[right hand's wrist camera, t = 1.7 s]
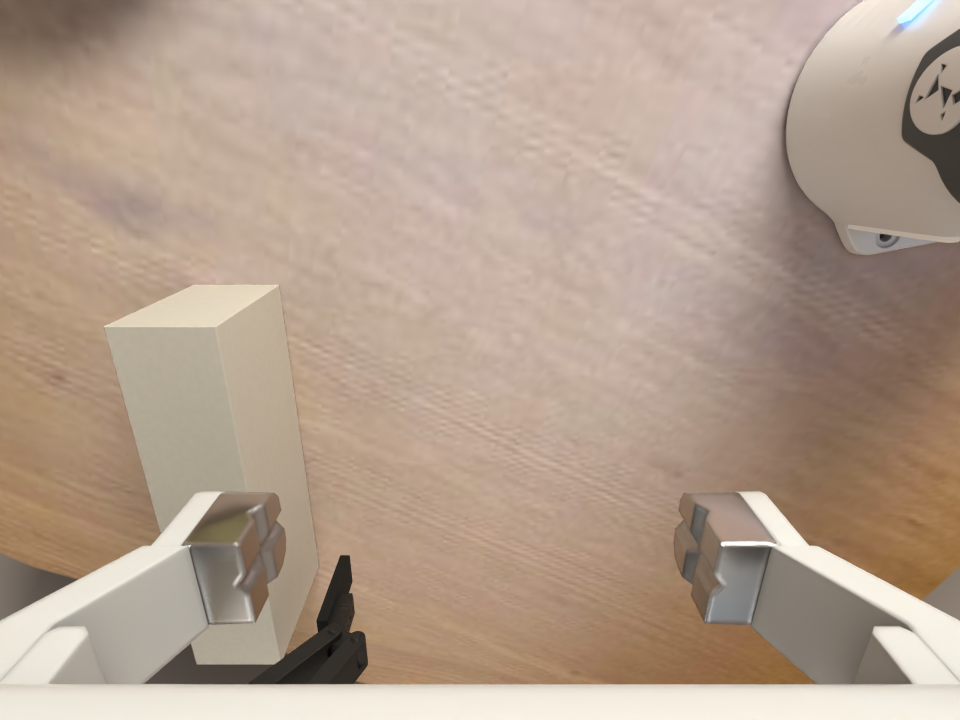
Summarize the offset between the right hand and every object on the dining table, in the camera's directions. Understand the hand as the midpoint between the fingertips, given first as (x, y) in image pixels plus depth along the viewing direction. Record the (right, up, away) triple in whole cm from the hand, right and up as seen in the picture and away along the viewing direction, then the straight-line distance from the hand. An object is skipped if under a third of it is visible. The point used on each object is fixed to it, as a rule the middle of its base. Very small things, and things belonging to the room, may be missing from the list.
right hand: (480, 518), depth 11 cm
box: (-18, -4, +33) cm, 38 cm away
